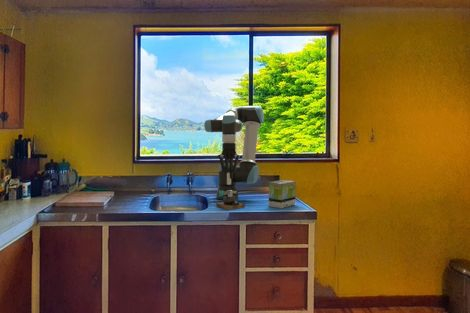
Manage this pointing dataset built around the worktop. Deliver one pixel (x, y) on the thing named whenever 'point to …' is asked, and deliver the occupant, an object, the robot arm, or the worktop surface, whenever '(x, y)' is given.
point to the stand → (230, 207)
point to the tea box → (282, 193)
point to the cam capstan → (229, 198)
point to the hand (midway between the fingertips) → (229, 184)
